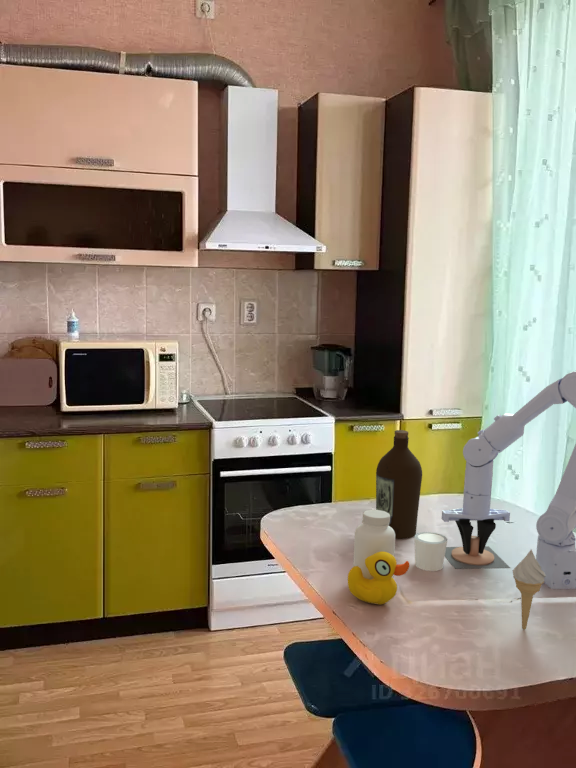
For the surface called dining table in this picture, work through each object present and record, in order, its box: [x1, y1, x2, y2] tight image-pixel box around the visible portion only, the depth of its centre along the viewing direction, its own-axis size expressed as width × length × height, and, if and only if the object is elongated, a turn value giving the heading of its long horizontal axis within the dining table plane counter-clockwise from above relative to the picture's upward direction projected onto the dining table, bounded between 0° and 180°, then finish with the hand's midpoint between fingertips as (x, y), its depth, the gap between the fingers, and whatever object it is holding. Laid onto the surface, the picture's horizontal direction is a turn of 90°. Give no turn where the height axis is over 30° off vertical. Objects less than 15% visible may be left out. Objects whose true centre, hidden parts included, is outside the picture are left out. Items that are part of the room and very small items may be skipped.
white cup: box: [413, 531, 448, 572], centre depth 158 cm, size 7×7×7 cm
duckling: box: [347, 551, 410, 605], centre depth 141 cm, size 11×5×10 cm, turn 75°
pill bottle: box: [352, 509, 396, 579], centre depth 148 cm, size 8×8×15 cm
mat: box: [444, 545, 511, 570], centre depth 164 cm, size 12×12×1 cm
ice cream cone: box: [512, 548, 546, 631], centre depth 132 cm, size 6×6×15 cm
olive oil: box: [375, 429, 423, 540], centre depth 176 cm, size 11×11×25 cm
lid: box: [452, 535, 494, 565], centre depth 163 cm, size 9×9×4 cm
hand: (473, 552), depth 163 cm, fingers closed on lid, 2 cm apart
